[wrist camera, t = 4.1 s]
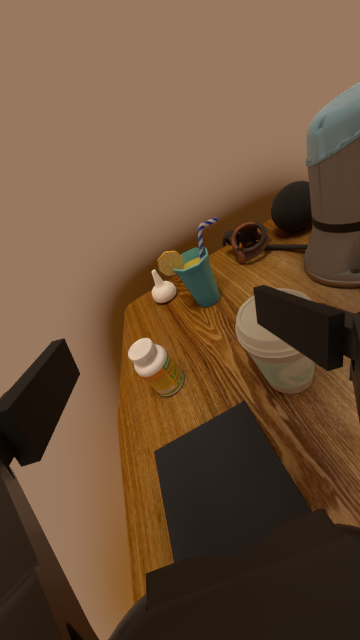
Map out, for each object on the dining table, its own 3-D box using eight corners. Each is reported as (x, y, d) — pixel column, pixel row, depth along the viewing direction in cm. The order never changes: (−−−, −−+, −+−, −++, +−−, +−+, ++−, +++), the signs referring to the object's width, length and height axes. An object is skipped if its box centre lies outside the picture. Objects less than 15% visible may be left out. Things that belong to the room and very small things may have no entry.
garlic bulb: (154, 297, 60) (138, 273, 55) (174, 285, 60) (160, 260, 55) (158, 309, 55) (141, 284, 50) (180, 296, 55) (165, 270, 50)
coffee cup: (282, 418, 27) (260, 362, 19) (244, 368, 33) (218, 313, 26) (344, 381, 26) (346, 310, 19) (293, 338, 33) (280, 274, 26)
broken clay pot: (279, 238, 54) (276, 217, 47) (264, 274, 54) (259, 259, 47) (232, 232, 60) (224, 213, 53) (219, 265, 60) (209, 250, 53)
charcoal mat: (156, 452, 31) (153, 451, 30) (245, 402, 30) (244, 400, 30) (190, 634, 19) (187, 635, 18) (339, 557, 18) (339, 557, 18)
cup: (228, 273, 53) (204, 212, 44) (248, 284, 46) (226, 216, 37) (179, 307, 52) (145, 252, 43) (194, 323, 46) (158, 262, 37)
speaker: (268, 232, 57) (259, 192, 51) (306, 212, 56) (302, 169, 50) (288, 245, 50) (281, 201, 44) (333, 223, 48) (332, 173, 42)
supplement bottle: (187, 390, 35) (156, 355, 29) (157, 401, 36) (122, 369, 31) (182, 364, 39) (155, 328, 34) (156, 374, 41) (125, 342, 35)
